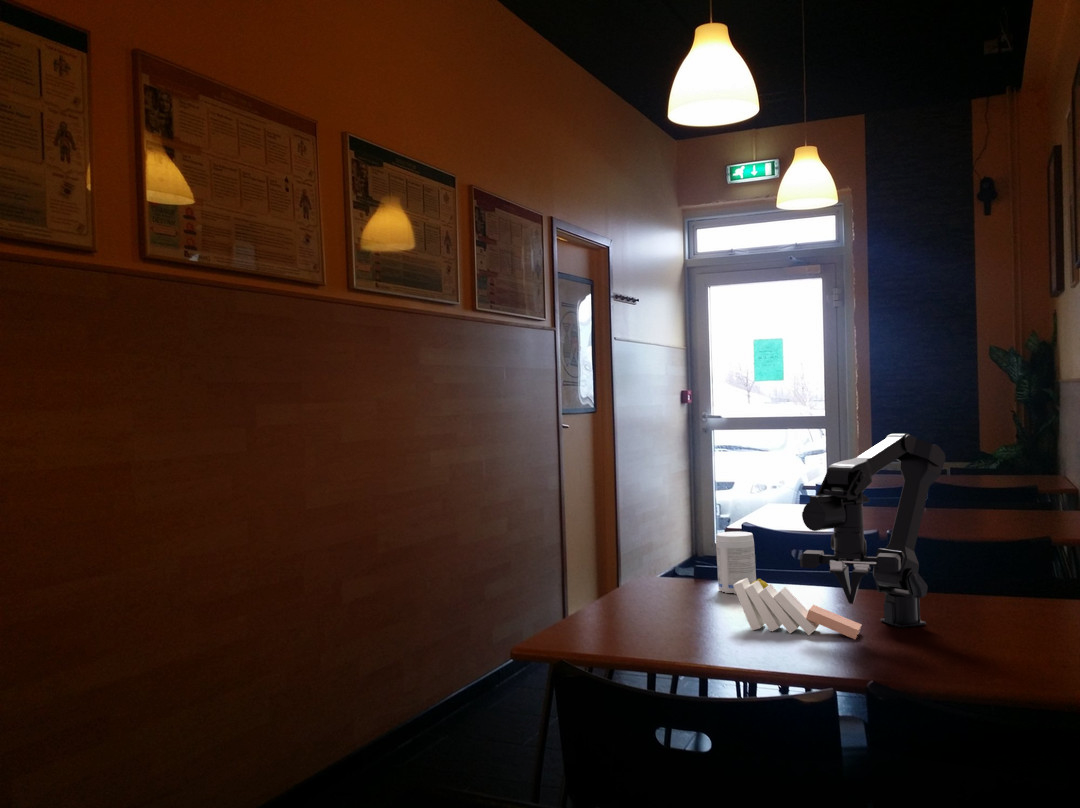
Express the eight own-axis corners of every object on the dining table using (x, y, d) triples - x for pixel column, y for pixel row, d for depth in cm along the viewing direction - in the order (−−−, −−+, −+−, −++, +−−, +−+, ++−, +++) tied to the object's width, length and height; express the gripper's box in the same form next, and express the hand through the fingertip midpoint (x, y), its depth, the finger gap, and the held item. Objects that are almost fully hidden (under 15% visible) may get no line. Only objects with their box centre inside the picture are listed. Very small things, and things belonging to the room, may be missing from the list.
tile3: (802, 622, 180) (770, 583, 183) (797, 628, 176) (765, 588, 179) (794, 628, 181) (763, 589, 184) (789, 633, 176) (758, 593, 179)
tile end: (766, 622, 184) (747, 577, 186) (760, 627, 179) (741, 582, 181) (757, 625, 185) (739, 580, 186) (751, 630, 180) (732, 585, 182)
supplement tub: (763, 590, 219) (761, 532, 219) (743, 596, 213) (741, 537, 213) (731, 585, 226) (729, 530, 226) (710, 592, 220) (708, 534, 220)
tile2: (820, 623, 179) (784, 586, 182) (815, 629, 174) (779, 591, 177) (813, 629, 179) (778, 592, 182) (808, 635, 175) (773, 597, 178)
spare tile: (861, 624, 175) (813, 604, 179) (858, 630, 170) (809, 609, 175) (858, 633, 175) (810, 613, 179) (855, 639, 171) (805, 618, 175)
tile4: (783, 622, 182) (758, 580, 184) (778, 627, 178) (752, 584, 180) (775, 626, 183) (750, 584, 185) (770, 632, 178) (744, 589, 181)
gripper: (901, 522, 176) (904, 598, 176) (808, 519, 185) (810, 592, 185) (896, 529, 166) (900, 610, 166) (798, 526, 175) (801, 603, 175)
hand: (851, 603), depth 173 cm, fingers closed
